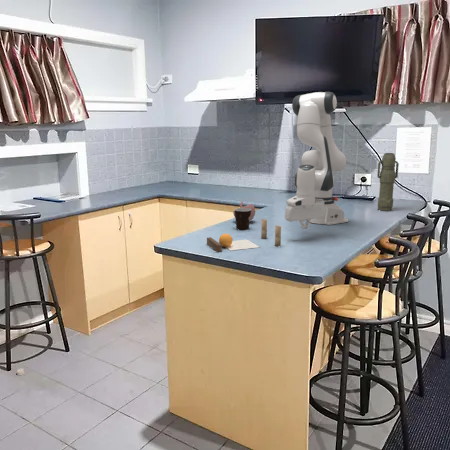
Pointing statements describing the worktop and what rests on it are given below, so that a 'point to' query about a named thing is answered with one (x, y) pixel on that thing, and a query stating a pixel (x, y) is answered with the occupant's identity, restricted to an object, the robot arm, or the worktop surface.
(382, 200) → the thermos
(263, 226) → the post
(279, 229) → the post
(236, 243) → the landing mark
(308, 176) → the robot arm
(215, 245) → the stopper wall
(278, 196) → the worktop surface
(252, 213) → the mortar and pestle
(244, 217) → the coffee mug
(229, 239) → the ball
